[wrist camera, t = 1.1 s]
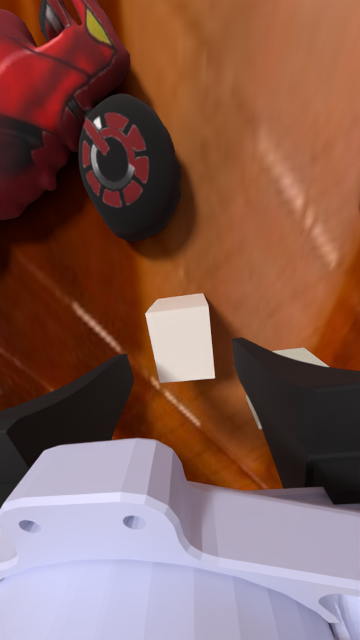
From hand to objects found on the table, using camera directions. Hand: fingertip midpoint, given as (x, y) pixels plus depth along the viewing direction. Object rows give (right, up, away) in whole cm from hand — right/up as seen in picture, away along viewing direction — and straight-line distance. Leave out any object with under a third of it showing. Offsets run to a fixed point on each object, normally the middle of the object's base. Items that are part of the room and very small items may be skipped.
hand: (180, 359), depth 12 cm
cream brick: (0, +2, +6) cm, 7 cm away
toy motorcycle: (-13, +17, +3) cm, 21 cm away
